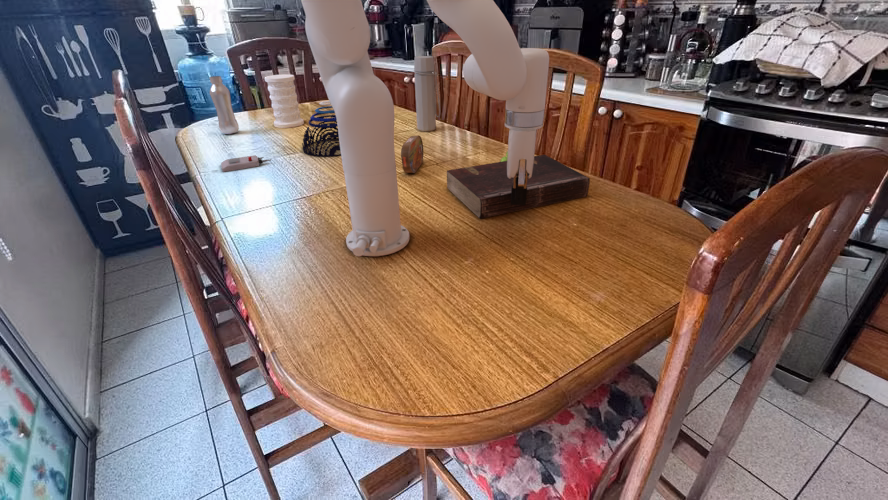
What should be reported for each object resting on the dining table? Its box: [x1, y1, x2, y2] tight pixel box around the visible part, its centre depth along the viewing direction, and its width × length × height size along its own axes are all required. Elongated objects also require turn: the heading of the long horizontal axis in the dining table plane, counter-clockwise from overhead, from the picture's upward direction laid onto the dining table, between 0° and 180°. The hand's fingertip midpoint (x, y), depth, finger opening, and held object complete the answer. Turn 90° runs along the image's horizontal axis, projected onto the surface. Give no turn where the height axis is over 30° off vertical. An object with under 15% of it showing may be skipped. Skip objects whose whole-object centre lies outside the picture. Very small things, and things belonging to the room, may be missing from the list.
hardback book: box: [446, 154, 591, 219], centre depth 102 cm, size 29×19×5 cm, turn 113°
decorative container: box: [264, 73, 305, 129], centre depth 164 cm, size 12×12×18 cm
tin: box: [400, 134, 424, 174], centre depth 118 cm, size 15×3×8 cm, turn 168°
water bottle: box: [413, 55, 441, 132], centre depth 150 cm, size 9×8×25 cm
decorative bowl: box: [301, 100, 341, 158], centre depth 136 cm, size 20×20×14 cm
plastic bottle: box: [208, 75, 240, 135], centre depth 153 cm, size 6×7×20 cm
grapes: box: [499, 150, 508, 162], centre depth 117 cm, size 9×6×7 cm, turn 174°
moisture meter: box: [220, 154, 272, 173], centre depth 125 cm, size 7×16×3 cm, turn 117°
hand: (518, 203), depth 91 cm, fingers closed
